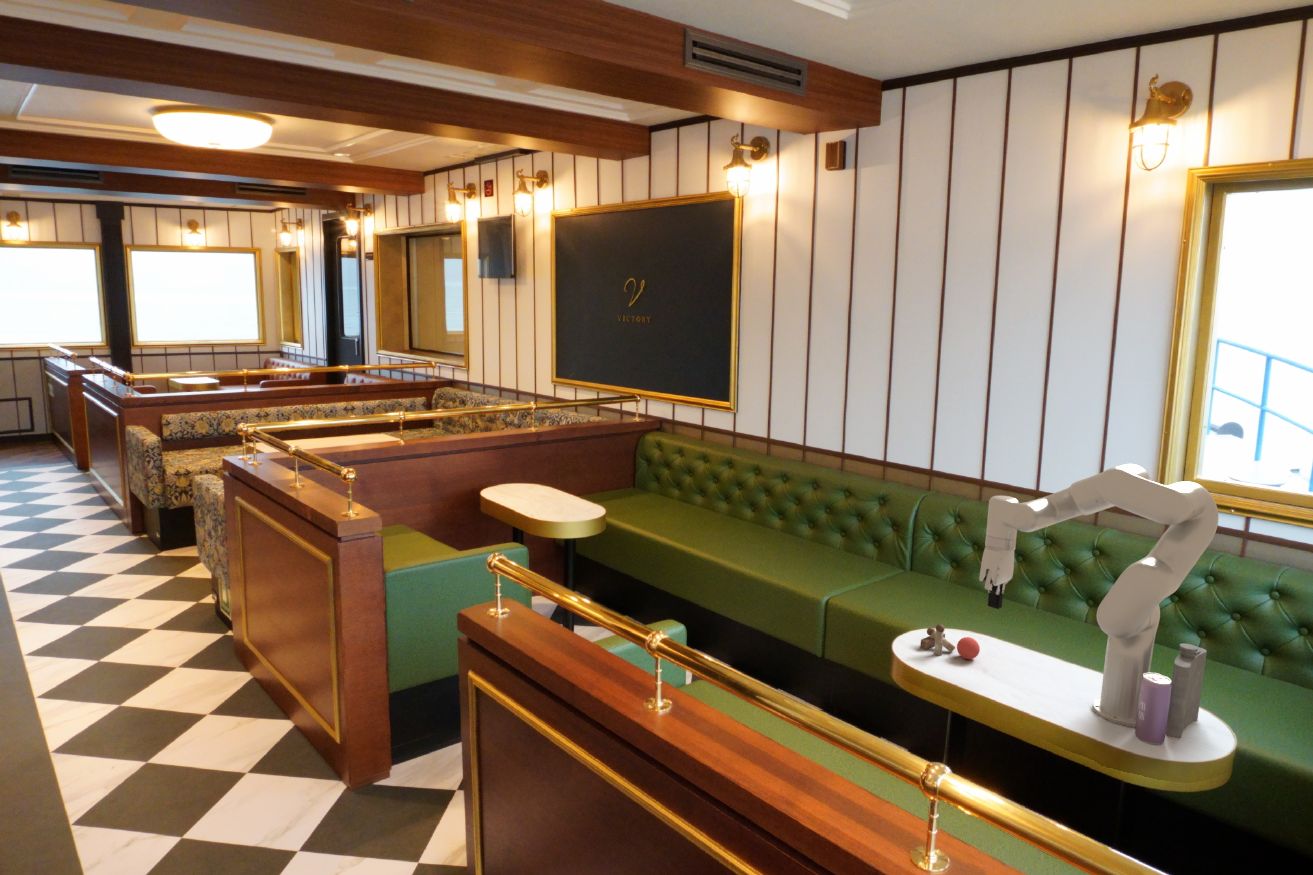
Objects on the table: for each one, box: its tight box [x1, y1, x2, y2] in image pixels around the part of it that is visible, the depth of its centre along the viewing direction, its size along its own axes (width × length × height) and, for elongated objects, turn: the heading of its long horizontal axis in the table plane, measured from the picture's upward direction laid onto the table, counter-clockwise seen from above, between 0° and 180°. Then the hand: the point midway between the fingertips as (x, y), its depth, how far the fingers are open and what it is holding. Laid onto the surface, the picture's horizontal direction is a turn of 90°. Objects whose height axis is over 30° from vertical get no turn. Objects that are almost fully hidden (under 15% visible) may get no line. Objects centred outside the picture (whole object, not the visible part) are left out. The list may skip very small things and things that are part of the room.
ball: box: [956, 636, 981, 660], centre depth 229 cm, size 6×6×6 cm
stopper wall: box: [919, 632, 946, 651], centre depth 238 cm, size 2×10×2 cm, turn 130°
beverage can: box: [1134, 672, 1172, 746], centre depth 186 cm, size 6×6×15 cm
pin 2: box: [926, 627, 956, 653], centre depth 235 cm, size 2×2×9 cm
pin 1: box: [933, 623, 945, 657], centre depth 231 cm, size 2×2×9 cm
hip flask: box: [1165, 642, 1208, 739], centre depth 193 cm, size 16×4×20 cm, turn 132°
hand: (994, 606), depth 222 cm, fingers closed
